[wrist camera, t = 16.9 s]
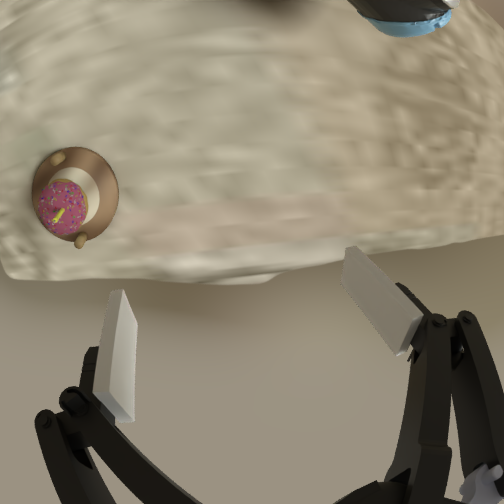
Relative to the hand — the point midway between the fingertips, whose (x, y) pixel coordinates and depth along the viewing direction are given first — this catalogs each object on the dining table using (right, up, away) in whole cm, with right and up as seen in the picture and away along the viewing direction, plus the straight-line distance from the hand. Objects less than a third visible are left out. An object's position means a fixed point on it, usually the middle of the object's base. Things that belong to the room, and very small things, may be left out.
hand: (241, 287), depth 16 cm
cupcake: (-28, +11, +22) cm, 37 cm away
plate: (-28, +11, +23) cm, 38 cm away
